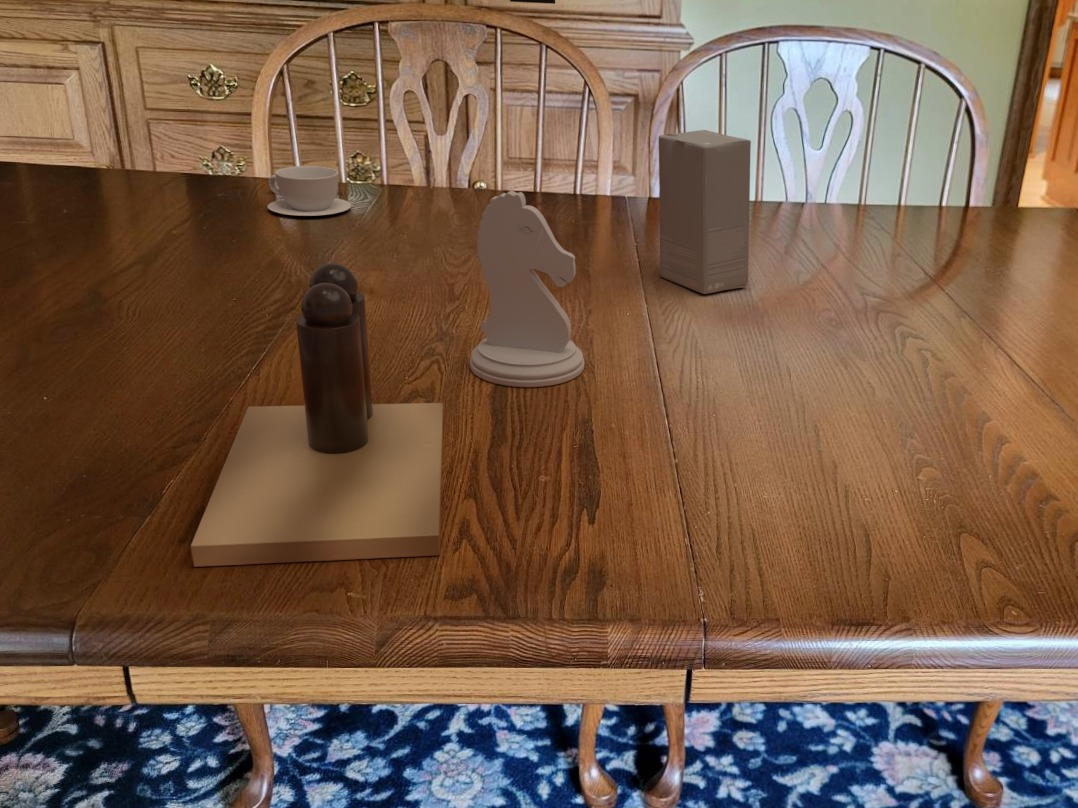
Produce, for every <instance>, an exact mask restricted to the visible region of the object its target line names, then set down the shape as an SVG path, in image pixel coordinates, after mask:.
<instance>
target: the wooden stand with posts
mask: <svg viewBox="0 0 1078 808" xmlns="http://www.w3.org/2000/svg"><path fill="white" fill-rule="evenodd" d="M308 288H309V289H307V290H306V292H305V293H304V295H303V296H302V299H301V303H300V309H301V310H300V311H301V313H302V314H300V315H299V316H297V318H295V325H296V334H297V335H296V336H297V343H298V344H297V345H298V354H299V363H300V373H301V383H302V393H303V402H304V403H303V404H304V405H267V406H266V405H263V406H260V405H259V406H257V405H256V406H247V408H246V411H245V413H244V415H243V418H242V420H241V423H240V425H239V427H238V430H237V433H236V434H235V437H234V440H233V443H232V445H231V447H230V450H229V452H228V454H227V456H226V459H225V462H224V464H223V466H222V468H221V472H220V474H219V476H218V479H217V481H216V484H215V486H214V488H213V490H212V493H211V495H210V498H209V500H208V503H207V505H206V507H205V510H204V512H203V514H202V517H201V520H200V521H199V525H198V527H197V529H196V531H195V534H194V536H193V538H192V541H191V543H190V553H191V558H192V562H193V563H192V564H193V567H194V568H198V567H199V568H200V567H222V566H223V567H224V566H243V565H244V566H246V565H264V564H266V565H267V564H286V563H287V564H288V563H289V564H290V563H306V562H307V563H308V562H330V561H350V560H351V561H352V560H371V559H390V558H391V559H392V558H395V559H396V558H415V557H434V556H435V557H436V556H437V557H438V556H440V555H441V531H442V498H443V497H442V496H443V495H442V493H443V458H444V457H443V456H444V455H443V453H444V404H443V402H415V403H411V402H409V403H373V396H372V395H373V394H372V382H371V366H370V354H369V339H368V325H367V312H366V299H365V297H366V296H365V295H364V294H363V293H362V292H360V291H359V290H358V289H359V283H358V280H357V277H356V275H355V274H354V273H353V271H351V269H350V268H349V267H347V266H345V265H344V264H341V263H338V262H337V263H336V262H328V263H324V264H322V265H319V267H317V268H316V269H315V270H314V271H313V273H312V274H311V276H310V279H309V284H308Z"/></svg>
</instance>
